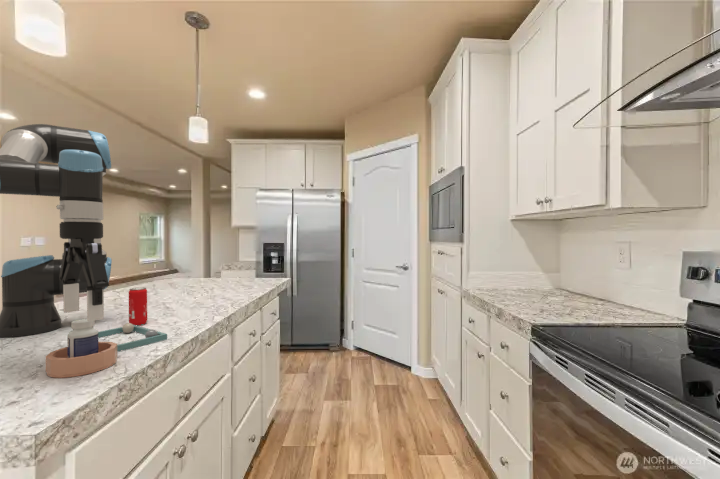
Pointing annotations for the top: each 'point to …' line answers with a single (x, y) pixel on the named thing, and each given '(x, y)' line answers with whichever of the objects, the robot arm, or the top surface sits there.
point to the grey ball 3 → (151, 333)
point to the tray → (136, 343)
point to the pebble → (128, 328)
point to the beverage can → (137, 306)
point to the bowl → (80, 361)
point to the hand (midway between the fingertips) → (83, 315)
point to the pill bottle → (82, 339)
